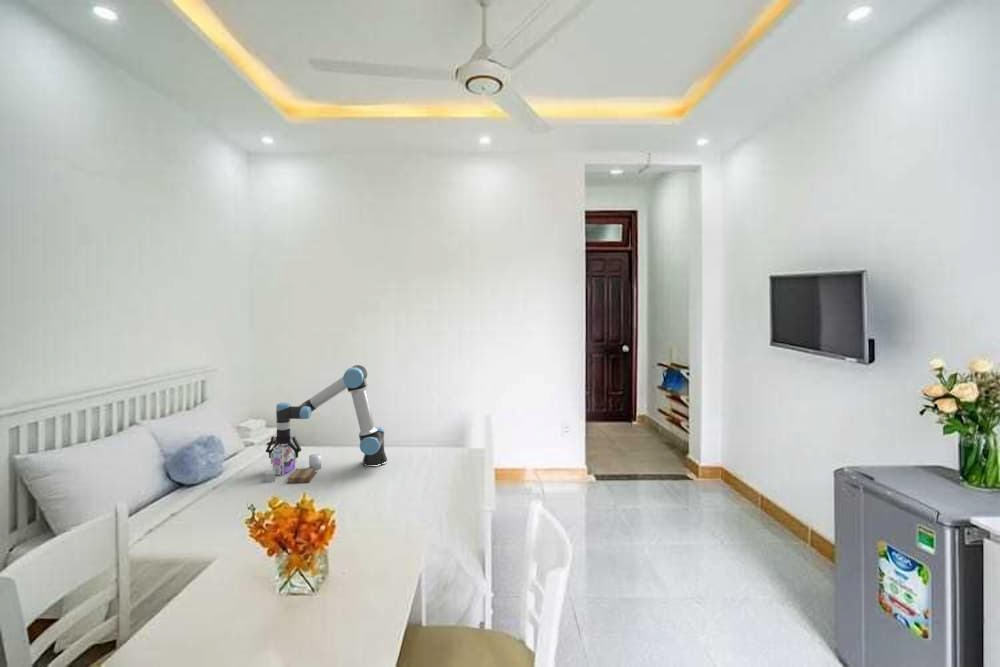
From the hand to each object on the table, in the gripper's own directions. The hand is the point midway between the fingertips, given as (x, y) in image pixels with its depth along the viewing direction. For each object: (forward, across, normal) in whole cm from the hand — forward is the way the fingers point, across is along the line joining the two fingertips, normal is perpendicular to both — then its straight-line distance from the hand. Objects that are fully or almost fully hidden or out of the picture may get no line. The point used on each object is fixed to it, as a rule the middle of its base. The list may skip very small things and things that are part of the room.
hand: (283, 463), depth 308 cm
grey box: (+5, +3, +15) cm, 16 cm away
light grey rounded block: (+5, -17, -5) cm, 19 cm away
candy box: (+6, 0, 0) cm, 6 cm away
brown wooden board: (+5, -14, +12) cm, 19 cm away
